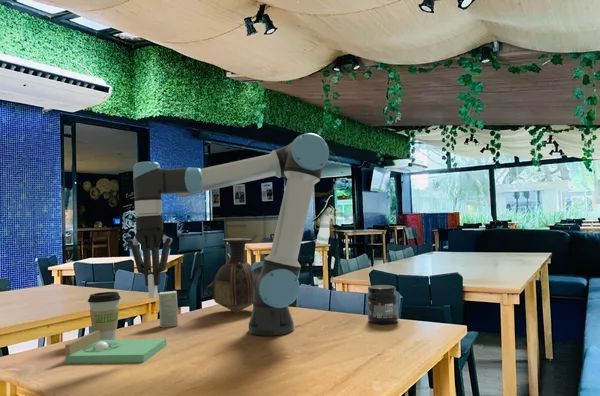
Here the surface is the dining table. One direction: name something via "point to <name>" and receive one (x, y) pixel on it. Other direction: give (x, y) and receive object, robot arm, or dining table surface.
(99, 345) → the ball
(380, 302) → the supplement container
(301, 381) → the dining table surface
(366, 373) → the dining table surface
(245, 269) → the vase
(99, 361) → the putting platform
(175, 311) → the skincare box
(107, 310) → the coffee cup
